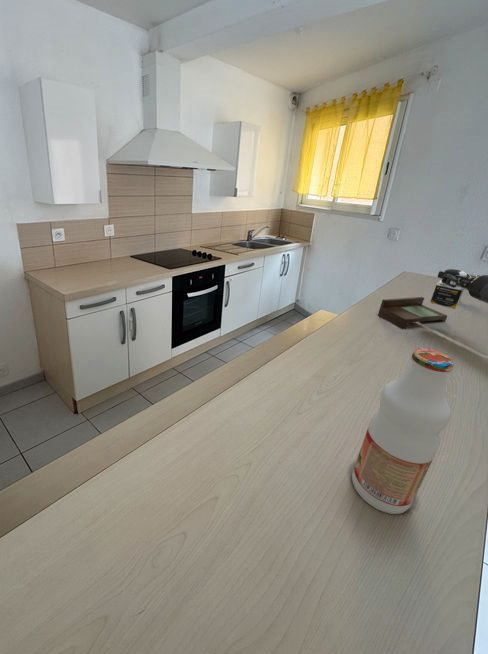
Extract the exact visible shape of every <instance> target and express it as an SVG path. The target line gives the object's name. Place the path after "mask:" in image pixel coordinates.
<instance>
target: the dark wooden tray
mask: <svg viewBox="0 0 488 654" xmlns="http://www.w3.org/2000/svg"><path fill="white" fill-rule="evenodd" d="M424 301H425V297H423V296H414V297H413V296H412V297H399V298H398V297H397V298H385V299H382V300H381V302H380V303H381V304H380V307H379V309H378V313H377V317H379V318H381V319H383V320H384V321H387V322H389V323H391V324H392V325H394V326H396V327H398V328H400V329H401V330H407V327H408V325H409V323H421V322H432V321H439V322H441V323H445V322H446V321H447V318H448V315H446V314H444V313H442V312H440V311H438V310H436V309H433V308H431V307H429V306H426V305H423V304H424Z"/></svg>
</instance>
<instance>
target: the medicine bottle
mask: <svg viewBox="0 0 488 654" xmlns="http://www.w3.org/2000/svg"><path fill="white" fill-rule="evenodd" d="M443 272H445V273H448V274H451V275H462V276H466V277H467V274H468V273H467V272H465V271H463V270H460V269H453V268H448V269H445V270H444V271H443ZM453 278H454V277H453ZM460 279H461V278H459V279H458V281H460ZM441 280H442V279H441V278H440V280H439V281H438V282H437V283H436V285H435V287H434V290H433V292H432V296H431V298H430V302H429V303H430V304H432V305H434V306H435V305H436V306H440V307H444V308H447V309H452V310H456V308H457V307H458V305H459V304H460V301H461V299H462V296H463V294H464V292H465V289H462V288H461V287H458V286H456V287H455V288H453V287H451V286H449V285H447V284H445V283H443V282H441Z"/></svg>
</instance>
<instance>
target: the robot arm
mask: <svg viewBox="0 0 488 654" xmlns="http://www.w3.org/2000/svg"><path fill="white" fill-rule="evenodd" d="M466 274H467V277H466V276H462V275H451V274H448V273H445V272H444V271H442V270H439V271H438V273H437V278H438V279H440V280H441V279H442V280H441V282H443V283H445V284H447V285H449V286H451V287H453V288H455V287H456V286H458V287H461V288H462V289H464V290H467V291H468V294H469V296H470V297H472V298H473V299H475V300H478V301H479V302H483V303H484V304H487V305H488V274H483V275H480V274H476V275H474V274H471V273H470V274H468V273H466ZM453 277H454V278H453ZM459 278H461V279H460V281H458V279H459Z"/></svg>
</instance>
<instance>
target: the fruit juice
mask: <svg viewBox="0 0 488 654" xmlns="http://www.w3.org/2000/svg"><path fill="white" fill-rule="evenodd" d="M410 361H411V364H410V365H409V367H408V368H407V369H406V370H405V371H404V372H403V373H402V374H401V375H400V376H399V377H398V378H396V379H393V380H391V381H390V382H388V383H387V384H385V385H384V386H383V388H382V390H381V392H380V396H379V408H377V409H376V410H375V411H374V413H373V414H372V416H371V418H370V421H369V423H368V426H367V430H366V432H365V435H364V438H363V441H362V444H361V447H360V449H359V452H358V455H357V458H356V460H355V464H354V467H353V469H352V474H351V475H352V476H351V480H352V481H351V482H352V484H353V488H354V490H355V491H356V493H357V494H358V495H359V496H360V498H362V499H363V501H365V502H366V503H367V504H368V505H370V506H371V507H373V508H374V509H376V510H378V511H379V512H383V513H386V514H390V515H400V514H403V513H405V512H407V511H408V510H409V509H410V507H411V506H412V504H413V503H414V501H415V498H416V496H417V494H418V492H419V490H420V488H421V486H422V483H423V481H424V479H425V477H426V475H427V473H428V471H429V468H430V467H431V465H432V462H433V460H434V459H435V457H436V454H437V453H438V449H439V445H440V442H441V441H440V440H441V438H440V434H441V433H442V431H444V430H445V429H446V428H447V427H448V426H449V423H450V421H451V419H452V408H451V404H450V402H449V398H448V396H447V395H448V394H447V376H448V375H449V374H451V372H452V371H453V370H454V366H455V362H454V359H452V357H450V356H449V355H447V354H445V353H444V352H441V351H438V350H435V349H433V348H432V349H431V348H426V347H419V348H416V349H415V350H413V352H412V354H411V358H410Z"/></svg>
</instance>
